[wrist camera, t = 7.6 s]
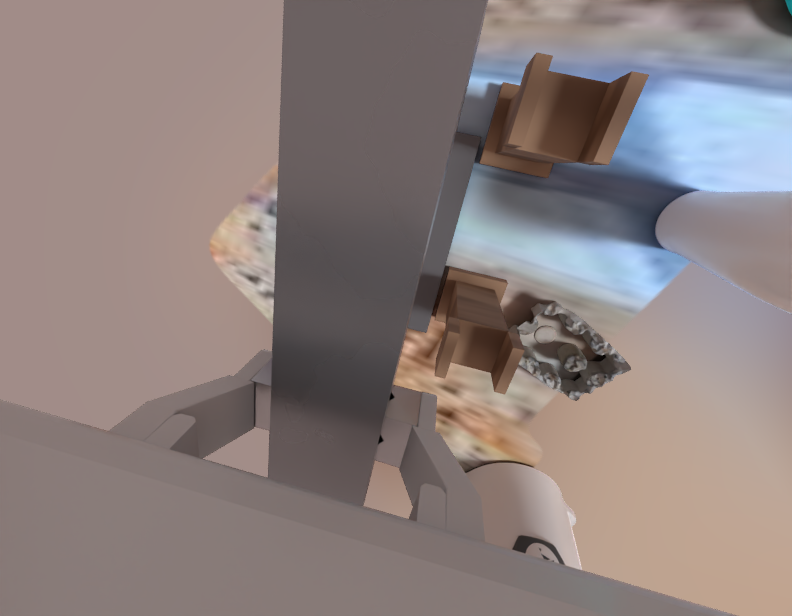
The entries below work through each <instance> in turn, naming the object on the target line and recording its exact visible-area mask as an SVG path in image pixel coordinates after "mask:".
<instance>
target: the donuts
mask: <svg viewBox="0 0 792 616" xmlns="http://www.w3.org/2000/svg"><path fill="white" fill-rule="evenodd" d="M785 1H786V5H787V7H788V10H789V12H790V13H791V15H792V0H785Z"/></svg>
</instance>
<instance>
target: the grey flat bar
mask: <svg viewBox="0 0 792 616" xmlns="http://www.w3.org/2000/svg"><path fill="white" fill-rule="evenodd" d="M480 139H481V137H478V136H474V135H469V134H464V133H460V132H456V135H455V139H454V143H453V147H452V151H451V155H450V159H449V163H448V167H447V171H446V175H445V179H444V183H443V187H442V191H441V195H440V199H439V203H438V207H437V211H436V215H435V219H434V223H433V228H432V232H431V236H430V240H429V244H428V248H427V252H426V256H425V260H424V264H423V268H422V272H421V276H420V280H419V284H418V288H417V292H416V296H415V300H414V304H413V308H412V312H411V316H410V320H409V324H408V328H410V329H413V330H417V331H421V332H425V333H426V332H427V329H428V325H429V322H430V318H431V314H432V311H433V307H434V304H435V300H436V297H437V293H438V289H439V286H440V282H441V279H442V275H443V272H444V268H445V264H446V261H447V257H448V254H449V250H450V247H451V243H452V239H453V236H454V232H455V229H456V225H457V222H458V218H459V214H460V211H461V207H462V204H463V200H464V197H465V193H466V189H467V186H468V182H469V179H470V175H471V171H472V168H473V164H474V161H475V157H476V154H477V150H478V146H479V143H480Z"/></svg>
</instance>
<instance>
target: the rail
mask: <svg viewBox="0 0 792 616" xmlns="http://www.w3.org/2000/svg"><path fill="white" fill-rule="evenodd" d="M487 3H488V0H284V15H283V16H284V17H283V45H282V76H281V105H280V135H279V165H278V195H277V225H276V254H275V284H274V314H273V346H272V374H271V404H270V434H269V465H268V478H270V479H273V480H276V481H280V482H283V483H287V484H290V485H294V486H297V487H300V488H304V489H307V490H311V491H314V492H317V493H321V494H324V495H328V496H331V497H334V498H338V499H341V500H345V501H348V502H351V503H355V504H358V505H362V506H363V505H364V501H365V497H366V493H367V489H368V485H369V481H370V477H371V473H372V469H373V465H374V461H375V460H374V458H375V454H376V450H377V446H378V442H379V438H380V433H381V429H382V425H383V421H384V417H385V413H386V410H387V406H388V402H389V399H390V395H391V391H392V387H393V385H394V381H395V376H396V372H397V368H398V364H399V360H400V356H401V352H402V348H403V344H404V340H405V336H406V332H407V328H408V324H409V320H410V316H411V312H412V308H413V304H414V300H415V296H416V292H417V288H418V284H419V280H420V276H421V272H422V268H423V264H424V260H425V256H426V252H427V248H428V244H429V240H430V236H431V232H432V228H433V223H434V219H435V215H436V211H437V207H438V203H439V199H440V195H441V191H442V187H443V183H444V179H445V175H446V171H447V167H448V163H449V159H450V155H451V151H452V147H453V143H454V139H455V135H456V131H457V127H458V123H459V119H460V115H461V111H462V107H463V103H464V99H465V95H466V91H467V87H468V83H469V79H470V75H471V70H472V66H473V62H474V58H475V54H476V50H477V46H478V42H479V38H480V34H481V30H482V25H483V21H484V16H485V12H486V7H487Z"/></svg>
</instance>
